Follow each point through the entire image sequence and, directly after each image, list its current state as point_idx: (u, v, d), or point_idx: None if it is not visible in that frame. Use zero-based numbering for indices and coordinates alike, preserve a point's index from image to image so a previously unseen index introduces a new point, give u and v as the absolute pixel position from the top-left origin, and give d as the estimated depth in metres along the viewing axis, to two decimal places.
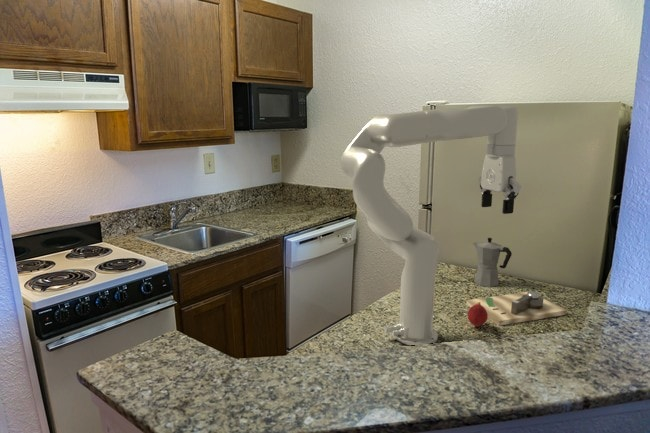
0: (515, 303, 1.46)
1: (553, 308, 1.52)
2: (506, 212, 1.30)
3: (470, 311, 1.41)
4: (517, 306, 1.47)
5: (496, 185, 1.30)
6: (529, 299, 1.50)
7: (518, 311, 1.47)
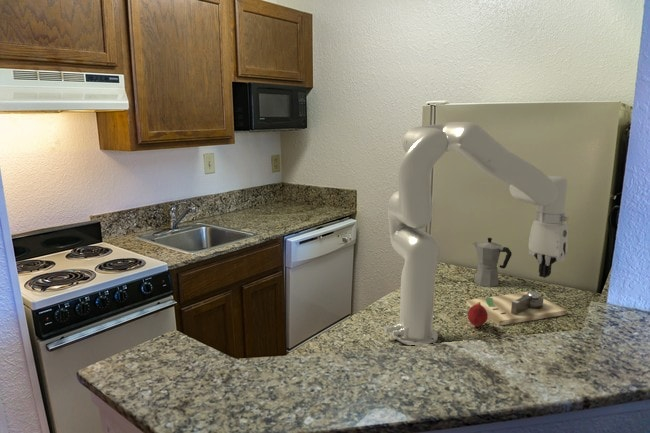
0: (515, 303, 1.46)
1: (553, 308, 1.52)
2: None
3: (470, 311, 1.41)
4: (517, 306, 1.47)
5: None
6: (529, 299, 1.50)
7: (518, 311, 1.47)
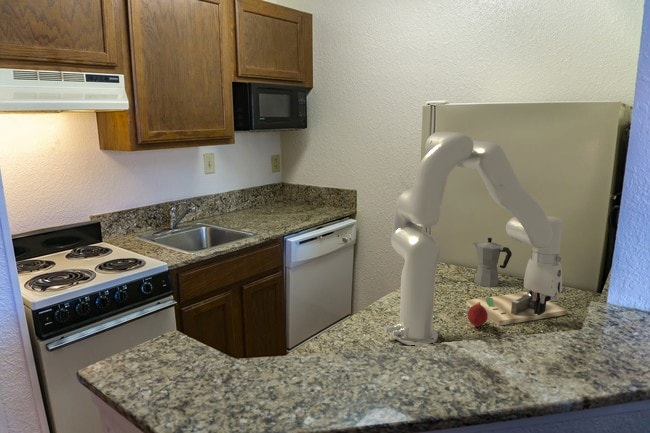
0: (515, 303, 1.46)
1: (553, 308, 1.52)
2: None
3: (470, 311, 1.41)
4: (517, 306, 1.47)
5: None
6: (529, 299, 1.50)
7: (518, 311, 1.47)
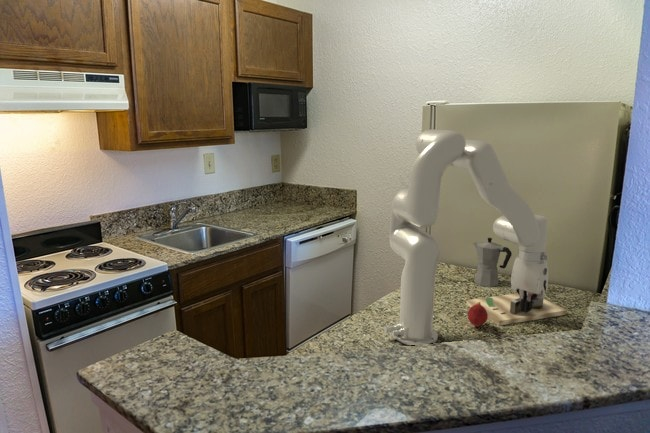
0: (514, 303, 1.46)
1: (553, 308, 1.52)
2: None
3: (470, 311, 1.41)
4: (516, 306, 1.47)
5: None
6: None
7: (517, 311, 1.48)
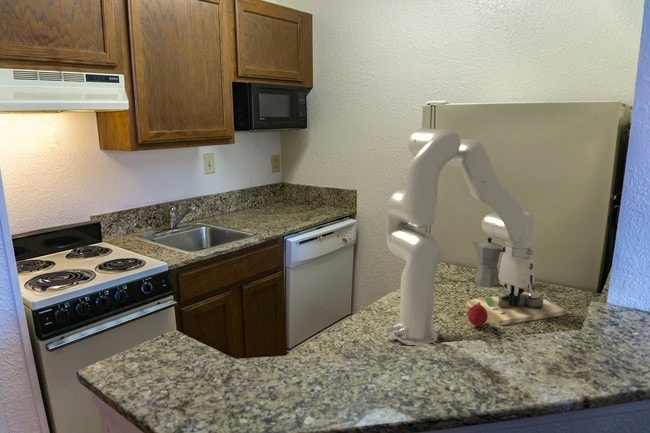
0: (501, 296, 1.51)
1: (553, 308, 1.52)
2: None
3: (470, 311, 1.41)
4: (503, 300, 1.51)
5: None
6: (523, 296, 1.52)
7: (505, 305, 1.52)
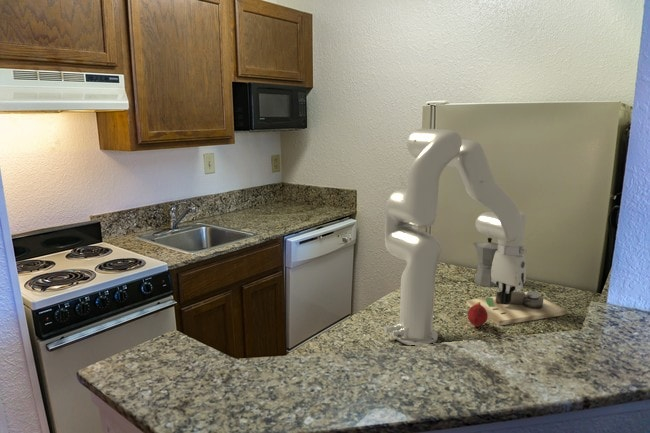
0: (496, 292, 1.55)
1: (553, 308, 1.52)
2: None
3: (470, 311, 1.41)
4: (499, 296, 1.55)
5: None
6: (520, 295, 1.53)
7: None
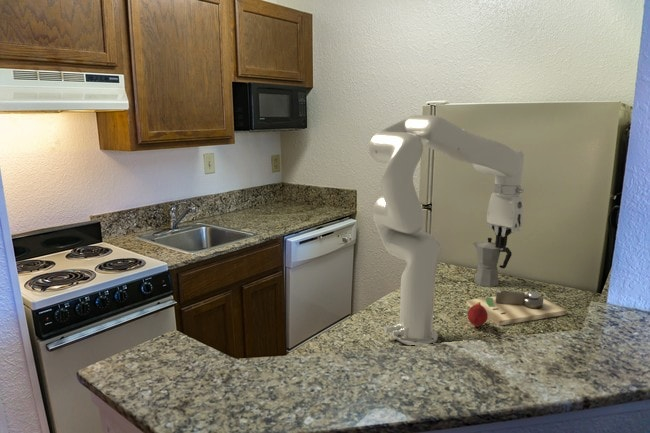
0: (496, 292, 1.55)
1: (553, 308, 1.52)
2: None
3: (470, 311, 1.41)
4: (499, 296, 1.55)
5: None
6: (520, 295, 1.53)
7: (501, 301, 1.55)
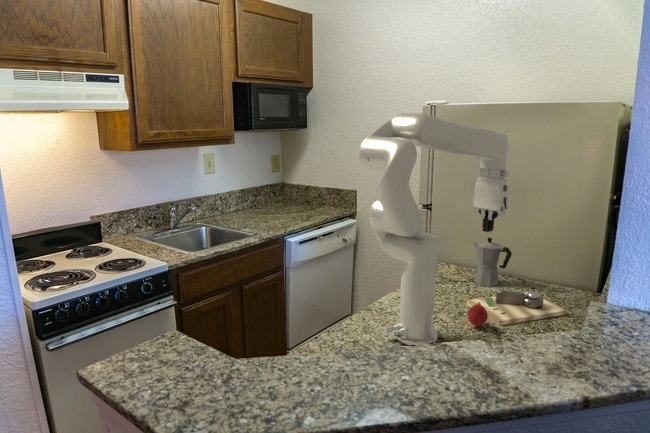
0: (496, 292, 1.55)
1: (553, 308, 1.52)
2: None
3: (470, 311, 1.41)
4: (499, 296, 1.55)
5: None
6: (520, 295, 1.53)
7: (501, 301, 1.55)
